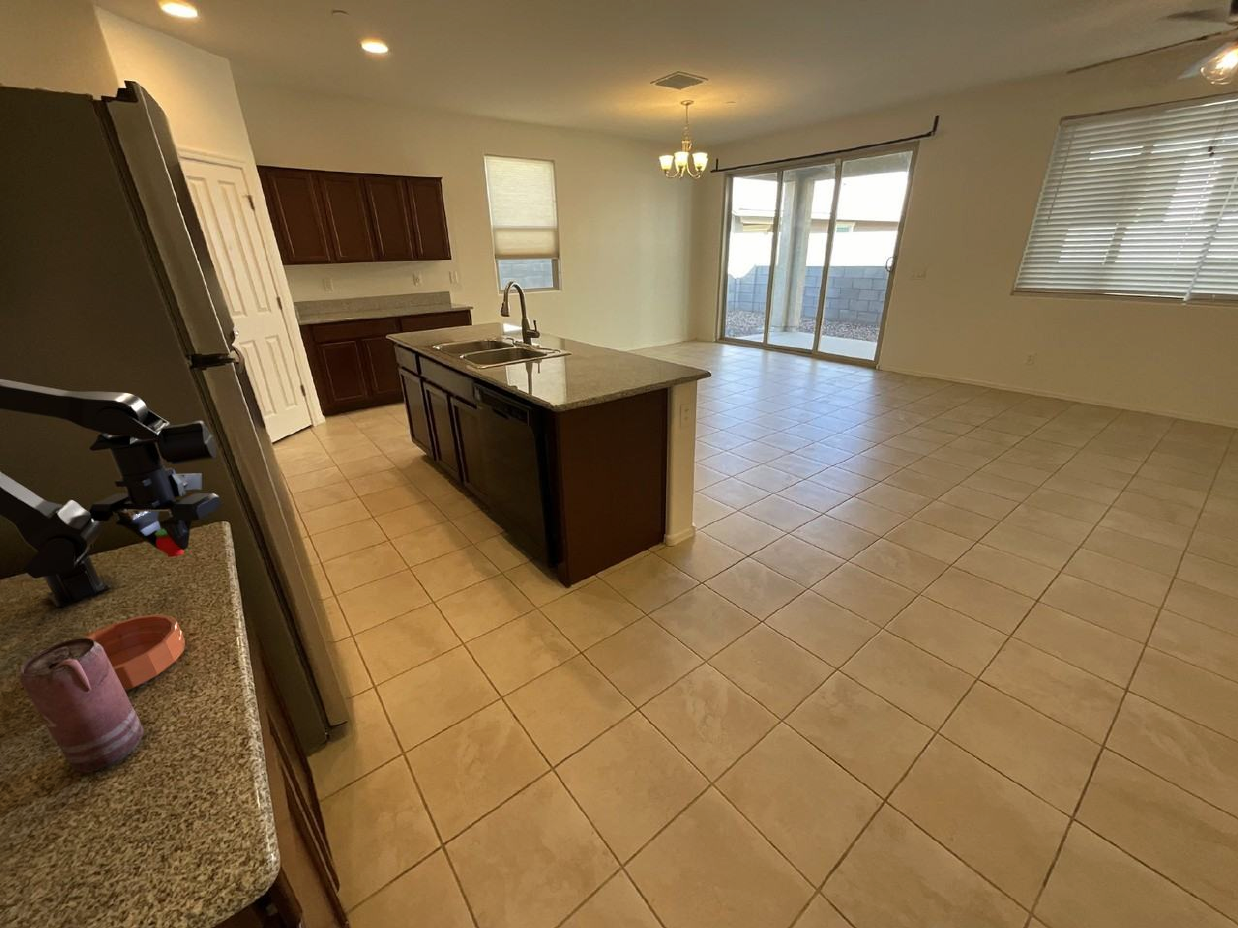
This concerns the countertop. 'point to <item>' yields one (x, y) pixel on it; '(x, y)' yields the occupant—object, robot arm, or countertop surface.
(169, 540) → the strawberry
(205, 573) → the countertop surface
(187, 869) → the countertop surface
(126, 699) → the can
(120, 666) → the bowl
